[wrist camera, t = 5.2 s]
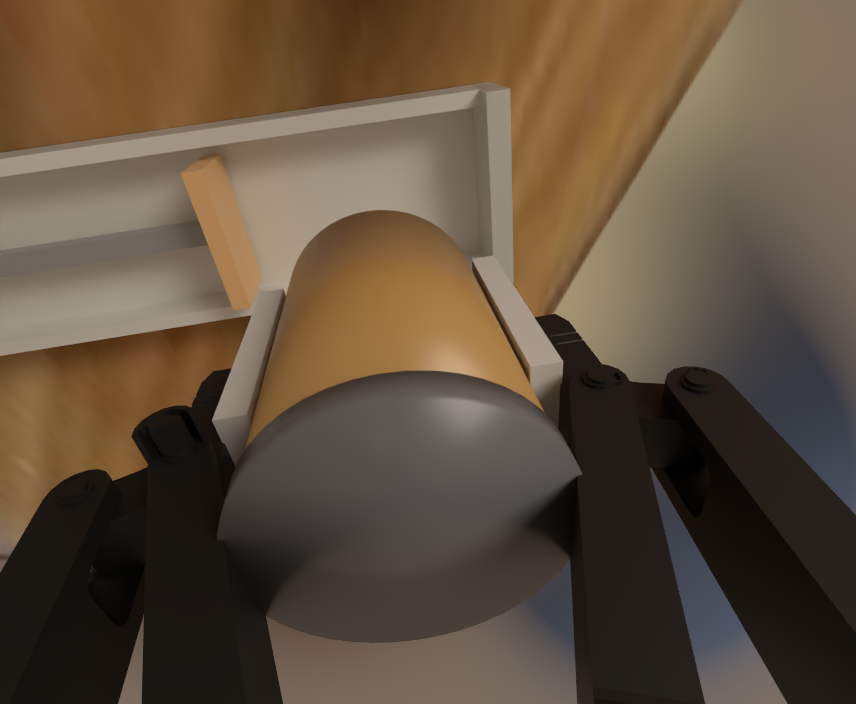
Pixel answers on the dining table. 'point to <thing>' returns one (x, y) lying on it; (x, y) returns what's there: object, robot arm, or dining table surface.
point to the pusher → (165, 238)
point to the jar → (395, 448)
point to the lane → (245, 204)
